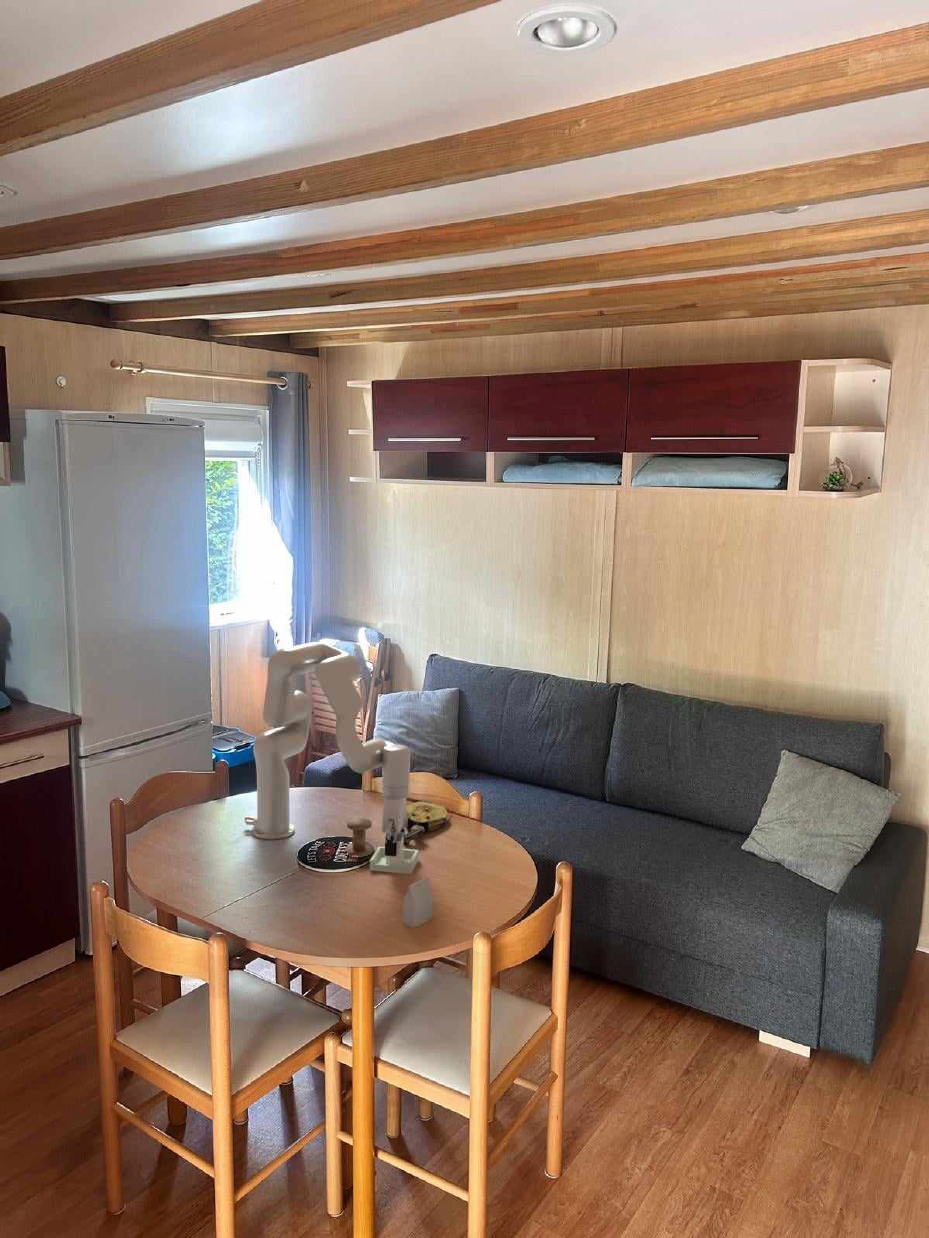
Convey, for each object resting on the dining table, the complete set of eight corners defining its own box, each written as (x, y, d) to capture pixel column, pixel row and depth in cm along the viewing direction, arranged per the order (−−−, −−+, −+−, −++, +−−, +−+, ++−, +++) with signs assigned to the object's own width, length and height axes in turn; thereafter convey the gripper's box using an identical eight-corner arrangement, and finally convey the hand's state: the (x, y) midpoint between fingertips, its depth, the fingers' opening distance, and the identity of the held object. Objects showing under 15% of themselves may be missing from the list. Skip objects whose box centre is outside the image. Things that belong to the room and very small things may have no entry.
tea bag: (432, 917, 233) (433, 879, 231) (413, 927, 228) (414, 888, 226) (421, 913, 235) (422, 875, 234) (402, 922, 230) (403, 883, 229)
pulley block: (385, 823, 277) (414, 791, 306) (382, 841, 278) (411, 807, 307) (431, 835, 274) (455, 802, 303) (428, 854, 275) (452, 818, 304)
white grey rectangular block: (385, 864, 261) (385, 836, 260) (389, 858, 265) (389, 830, 264) (400, 865, 261) (400, 837, 259) (403, 859, 265) (404, 831, 263)
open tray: (369, 870, 259) (370, 859, 259) (378, 856, 269) (378, 846, 268) (411, 874, 258) (411, 863, 257) (418, 860, 267) (418, 850, 267)
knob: (341, 856, 268) (341, 826, 267) (349, 845, 276) (349, 816, 274) (368, 858, 267) (369, 828, 265) (375, 848, 275) (376, 818, 273)
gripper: (389, 778, 269) (388, 836, 271) (374, 799, 252) (373, 859, 255) (415, 780, 268) (414, 838, 270) (402, 801, 251) (401, 862, 253)
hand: (394, 848), depth 262 cm, fingers open, 9 cm apart
